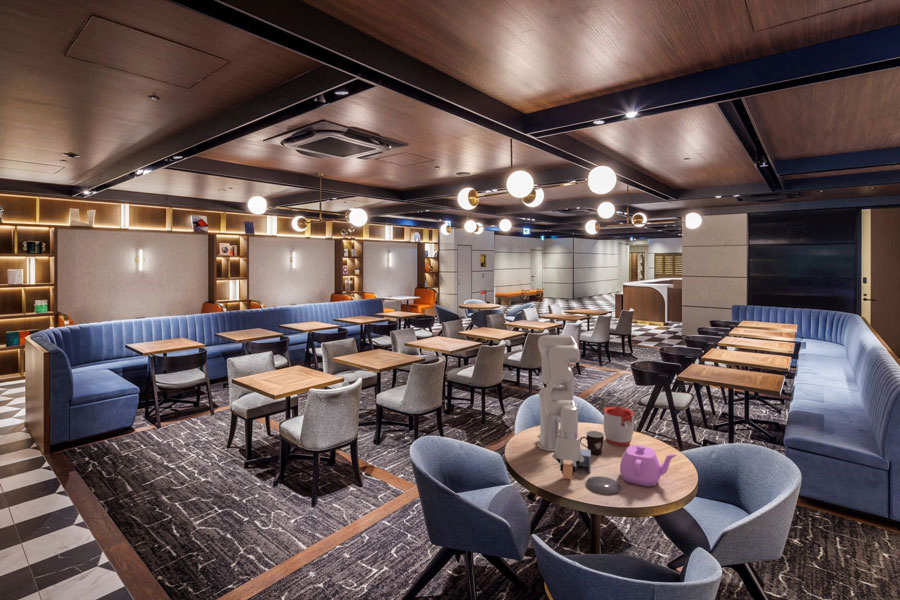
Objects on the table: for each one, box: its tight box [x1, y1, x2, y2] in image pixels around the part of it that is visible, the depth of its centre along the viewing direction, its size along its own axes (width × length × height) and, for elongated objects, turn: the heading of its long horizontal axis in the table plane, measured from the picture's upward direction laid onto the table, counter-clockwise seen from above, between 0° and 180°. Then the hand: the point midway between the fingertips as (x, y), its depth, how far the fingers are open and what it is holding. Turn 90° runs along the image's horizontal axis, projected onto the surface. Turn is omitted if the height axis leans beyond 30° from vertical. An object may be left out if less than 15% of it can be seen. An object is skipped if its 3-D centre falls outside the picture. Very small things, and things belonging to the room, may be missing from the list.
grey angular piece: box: [577, 448, 592, 473], centre depth 210 cm, size 7×7×8 cm
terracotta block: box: [562, 460, 573, 480], centre depth 199 cm, size 4×4×6 cm
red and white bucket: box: [602, 405, 635, 447], centre depth 239 cm, size 16×17×20 cm
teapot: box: [619, 444, 678, 487], centre depth 196 cm, size 23×21×15 cm
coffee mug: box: [579, 430, 605, 457], centre depth 227 cm, size 12×9×10 cm
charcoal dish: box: [585, 475, 622, 496], centre depth 193 cm, size 14×14×1 cm
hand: (567, 472), depth 200 cm, fingers closed on terracotta block, 3 cm apart
